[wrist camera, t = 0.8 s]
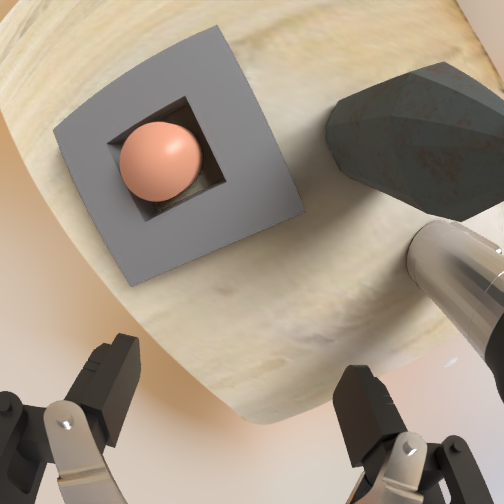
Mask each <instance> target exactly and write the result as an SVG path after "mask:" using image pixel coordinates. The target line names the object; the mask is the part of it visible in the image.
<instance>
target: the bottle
mask: <svg viewBox="0 0 504 504" xmlns="http://www.w3.org/2000/svg"><path fill="white" fill-rule="evenodd" d="M326 142H327V144H328V146H329V148H330V150H331V152H332V154H333V156H334V158H335V160H336V162H337V164H338V166H339V169H340V170H341V171H343V172H344V173H345V174H346V175H348V176H349V177H350V178H351V179H353V180H356V181H358V182H361V183H363V184H365V185H368V186H370V187H372V188H374V189H377V190H379V191H381V192H383V193H386V194H388V195H390V196H392V197H394V198H396V199H398V200H401V201H403V202H405V203H407V204H409V205H411V206H413V207H415V208H417V209H419V210H421V211H423V212H425V213H427V214H431V215H435V216H439V217H443V218H447V219H451V220H455V221H459V222H462V221H465V220H467V219H469V218H471V217H473V216H475V215H477V214H479V213H481V212H483V211H485V210H487V209H489V208H491V207H493V206H495V205H497V204H499V203H501V202H503V201H504V100H503V99H502V98H500V97H499V96H498V95H496V94H495V93H494V92H492V91H491V90H490V89H488V88H487V87H485V86H484V85H482V84H481V83H480V82H478V81H477V80H475V79H473V78H472V77H470V76H469V75H467V74H465V73H464V72H462V71H460V70H458V69H457V68H455V67H453V66H451V65H449V64H448V63H446V62H441V63H437V64H434V65H431V66H427V67H424V68H421V69H418V70H415V71H412V72H409V73H406V74H403V75H400V76H398V77H395V78H392V79H390V80H387V81H385V82H382V83H379V84H377V85H374V86H372V87H370V88H367V89H365V90H362V91H360V92H358V93H355V94H353V95H351V96H348V97H346V98H344V99H342V100H339V101H338V103H337V105H336V107H335V109H334V111H333V113H332V115H331V117H330V119H329V121H328V123H327V125H326Z"/></svg>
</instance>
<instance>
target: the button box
mask: <svg viewBox="0 0 504 504" xmlns="http://www.w3.org/2000/svg"><path fill="white" fill-rule="evenodd" d="M188 104H190V106H191V108H192V111H193V113H194V115H195V117H196V119H197V121H198V123H199V125H200V127H201V129H202V131H203V133H204V135H205V137H206V140H207V142H208V144H209V146H210V148H211V150H212V152H213V154H214V156H215V158H216V160H217V163H218V165H219V167H220V169H221V171H222V173H223V175H224V177H225V179H224V180H222V181H220V182H218V183H216V184H214V185H211V186H209V187H207V188H205V189H203V190H201V191H199V192H197V193H195V194H193V195H191V196H189V197H187V198H185V199H183V200H181V201H179V202H177V203H175V204H173V205H171V206H169V207H167V208H165V209H163V210H161V211H159V212H157V210H156V208H155V206H154V205H153V203H152V201H148V200H144V199H142V198H140V197H138V196H136V195H135V194H134V193H133V192H131V190H130V189H129V188H128V187H127V186H126V184H125V182H124V180H123V178H122V175H121V172H120V154H121V150H122V147H123V145H124V143H123V142H125V141H126V140H127V138H128V137H129V136H130V135H131V133H133V132H134V131H135V130H136V129H137V128H139V127H141V126H143V125H145V124H148V123H152V122H157V121H159V120H161V119H162V118H164V117H166V116H168V115H170V114H171V113H173V112H175V111H177V110H179V109H181V108H183V107H185V106H186V105H188ZM53 132H54V135H55V137H56V140H57V143H58V145H59V148H60V150H61V153H62V155H63V158H64V160H65V162H66V165H67V167H68V169H69V172H70V174H71V176H72V178H73V180H74V183H75V185H76V187H77V189H78V191H79V193H80V195H81V198H82V200H83V202H84V204H85V206H86V208H87V210H88V212H89V214H90V216H91V218H92V219H93V221H94V223H95V225H96V227H97V229H98V231H99V233H100V234H101V236H102V238H103V240H104V242H105V243H106V245H107V247H108V249H109V251H110V252H111V254H112V256H113V257H114V259H115V261H116V263H117V264H118V266H119V268H120V269H121V271H122V272H123V274H124V276H125V277H126V279H127V281H128V282H129V284H130V285H131V287H133V286H135V285H137V284H139V283H142V282H144V281H146V280H148V279H151V278H153V277H155V276H157V275H160V274H162V273H164V272H166V271H169V270H171V269H173V268H176V267H178V266H180V265H183V264H185V263H187V262H189V261H192V260H194V259H196V258H199V257H201V256H203V255H206V254H208V253H210V252H213V251H215V250H217V249H220V248H222V247H224V246H227V245H229V244H231V243H234V242H236V241H238V240H241V239H243V238H246V237H248V236H250V235H253V234H255V233H257V232H260V231H262V230H265V229H267V228H269V227H272V226H274V225H276V224H279V223H281V222H284V221H286V220H289V219H291V218H293V217H296V216H298V215H301V214H303V213H305V212H306V211H305V208H304V206H303V203H302V201H301V198H300V196H299V194H298V191H297V189H296V186H295V184H294V181H293V179H292V177H291V174H290V172H289V170H288V167H287V165H286V163H285V160H284V158H283V156H282V153H281V151H280V149H279V147H278V144H277V142H276V140H275V138H274V135H273V133H272V131H271V129H270V127H269V125H268V122H267V120H266V118H265V116H264V114H263V112H262V110H261V108H260V106H259V103H258V101H257V99H256V97H255V95H254V93H253V91H252V89H251V87H250V85H249V83H248V81H247V79H246V77H245V75H244V73H243V71H242V69H241V68H240V66H239V64H238V62H237V60H236V58H235V56H234V54H233V52H232V51H231V49H230V47H229V45H228V43H227V41H226V40H225V38H224V36H223V34H222V32H221V31H220V29H219V27H218V25H216V26H213V27H211V28H209V29H206V30H204V31H202V32H200V33H197V34H195V35H193V36H191V37H189V38H187V39H185V40H183V41H181V42H179V43H177V44H175V45H173V46H171V47H169V48H167V49H165V50H163V51H161V52H160V53H158V54H156V55H154V56H152V57H151V58H149V59H147V60H146V61H144V62H142V63H141V64H139V65H137V66H136V67H134V68H133V69H131V70H129V71H128V72H126V73H125V74H123V75H122V76H120V77H119V78H117V79H116V80H114V81H113V82H111V83H110V84H109V85H107V86H106V87H104V88H103V89H102V90H100V91H99V92H98V93H96V94H95V95H94V96H92V97H91V98H90V99H88V100H87V101H86V102H85V103H83V104H82V105H81V106H80V107H78V108H77V109H76V110H75V111H74V112H72V113H71V114H70V115H69V116H68V117H67V118H65V119H64V120H63V121H62V122H61V123H60V124H59V125H58V126H56V127H55V128H54V129H53Z"/></svg>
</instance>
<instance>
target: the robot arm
mask: <svg viewBox="0 0 504 504" xmlns="http://www.w3.org/2000/svg"><path fill="white" fill-rule="evenodd" d="M407 269H408V273H409V275H410V277H411V278H412V279H413V280H414V281H415V282H416V284H417V285H418V286H419V287H420V288H421V289H422V290H423V291H424V292H425V293H426V294H427V295H428V296H429V297H430V298H431V300H432V301H433V302H434V303H435V304H436V305H437V306H438V307H439V308H440V309H441V310H442V312H443V313H444V314H445V315H446V316H447V317H448V318H449V319H450V321H451V322H452V323H453V324H454V325H455V326H456V328H457V329H458V330H459V331H460V332H461V333H462V334H463V336H464V337H465V338H466V339H467V341H468V342H469V343H470V344H471V345H472V347H473V348H474V349H475V350H476V351H477V353H478V354H479V355H480V357H481V358H482V359H483V360H484V362H485V363H486V364H487V365H488V367H489V368H490V370H491V371H492V373H493V375H494V378H495V382H496V386H497V390H498V392H499V395H500V397H501V399H502V401H503V403H504V256H503V255H502V250H501V248H500V247H499V246H498V245H496V244H495V243H493V242H491V241H490V240H488V239H486V238H484V237H483V236H481V235H479V234H477V233H476V232H474V231H472V230H470V229H468V228H467V227H465V226H463V225H461V224H459V223H457V222H454V223H451V224H450V223H447V222H445V221H434V222H431V223H429V224H427V225H426V226H424V227H423V228H422V229H421V230H420V231H419V232H418V233H417V234H416V236H415V237H414V239H413V241H412V243H411V245H410V247H409V251H408V254H407ZM140 372H141V363H140V348H139V339H138V338H137V337H134V336H129V335H125V334H121V333H119V334H118V335H117V336H116V338H115V339H114V341H113V343H112V344H111V345H110V344H106V343H103V344H102V345H100V346H99V347H97V348H96V349H94V351H93V352H92V354H91V355H90V357H89V358H88V361H87V362H86V363H85V365H84V367H83V369H82V370H81V372H80V373H79V375H78V377H77V378H76V380H75V382H74V384H73V385H72V387H71V388H70V390H69V392H68V394H67V396H66V397H65V399H64V400H62V401H56V402H54V403H52V404H50V405H49V406H48V407H47V408H42V407H35V406H29V405H23V404H22V402H21V401H20V399H19V397H18V396H17V395H15V394H14V393H12V392H8V391H2V392H0V504H34V503H35V500H36V496H37V493H38V490H39V486H40V483H41V480H42V477H43V474H44V471H45V468H46V465H47V463H54V464H56V467H57V470H58V473H59V478H57V482H58V486H59V489H60V492H61V495H62V497H63V500H64V502H65V504H128V503H127V502H126V500H125V498H124V497H123V495H122V493H121V491H120V490H119V488H118V486H117V484H116V482H115V480H114V478H113V476H112V474H111V472H110V470H109V468H108V466H107V464H106V461H105V459H104V457H103V455H102V454H103V451H104V448H105V446H106V445H108V446H111V447H114V448H115V446H116V443H117V440H118V437H119V434H120V431H121V428H122V425H123V422H124V420H125V417H126V414H127V411H128V409H129V406H130V403H131V400H132V397H133V395H134V392H135V389H136V387H137V384H138V382H139V378H140ZM333 405H334V408H335V412H336V415H337V418H338V421H339V425H340V428H341V431H342V434H343V438H344V441H345V445H346V448H347V451H348V455H349V458H350V461H351V465H352V468H354V467H360V466H363V467H364V471H363V472H362V474H361V475H360V477H359V479H358V481H357V483H356V485H355V487H354V489H353V491H352V493H351V495H350V497H349V498H348V500H347V502H346V504H446V503H445V500H444V497H443V494H442V492H441V489H440V486H439V483H438V482H439V481H440V480H442V479H443V478H444V479H445V481H446V484H447V487H448V489H449V492H450V495H451V502H450V504H494V503H493V500H492V498H491V495H490V493H489V490H488V488H487V485H486V483H485V481H484V479H483V476H482V474H481V472H480V470H479V467H478V465H477V463H476V461H475V459H474V457H473V455H472V453H471V451H470V449H469V447H468V445H467V443H466V442H465V440H464V439H462V438H461V437H459V436H456V435H452V436H449V437H447V438H446V439H445V440H444V441H443V442H442V443H441V444H437V443H426V442H425V441H424V439H423V438H422V437H421V436H420V435H418V434H416V433H414V432H408V430H407V428H406V426H405V424H404V422H403V420H402V418H401V416H400V414H399V412H398V410H397V408H396V406H395V404H393V400H392V398H391V397H390V394H389V392H388V390H387V388H386V386H385V385H384V384H383V383H382V382H381V381H380V380H379V379H378V378H377V377H374V376H373V374H372V372H371V370H370V368H369V367H368V366H367V365H349V366H347V368H346V369H345V371H344V373H343V375H342V377H341V379H340V381H339V383H338V385H337V387H336V389H335V391H334V394H333Z"/></svg>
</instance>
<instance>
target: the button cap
mask: <svg viewBox="0 0 504 504" xmlns="http://www.w3.org/2000/svg"><path fill="white" fill-rule="evenodd" d="M202 164H203V151H202V147H201V145H200V142H199V140H198V139H197V137H196V136H195V135H194V134H193V133H192V132H191V131H190V130H188V129H187V128H185V127H182V126H180V125H175V124H170V123H165V122H152V123H148V124H145V125H143V126H141V127H139V128H137V129H136V130H135V131H134V132H133V133H131V135H130V136H129V137H128V138H127V140H126V141H125V143H124V145H123V147H122V150H121V154H120V172H121V175H122V178H123V180H124V182H125V184H126V186H127V187H128V188H129V189H130V190H131V192H133V193H134V194H135V195H136V196H138V197H140V198H142V199H144V200H148V201H164V200H168V199H170V198H172V197H174V196H176V195H177V194H179V193H180V192H182V191H183V190H184V189H186V188H187V187H189V186H190V185H191V184H192V183H193V182H194V181H195V180H196V178H197V177H198V175H199V173H200V171H201V168H202Z"/></svg>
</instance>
